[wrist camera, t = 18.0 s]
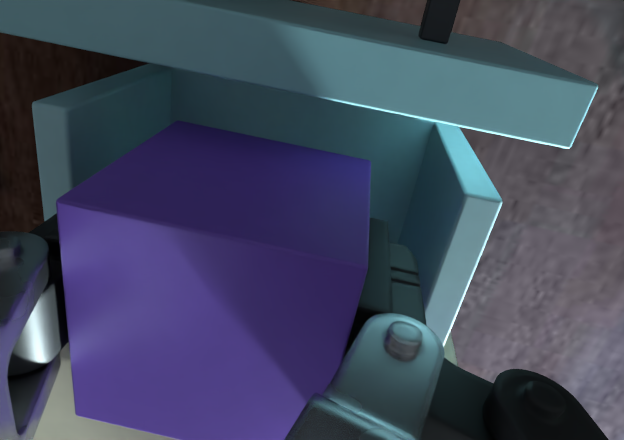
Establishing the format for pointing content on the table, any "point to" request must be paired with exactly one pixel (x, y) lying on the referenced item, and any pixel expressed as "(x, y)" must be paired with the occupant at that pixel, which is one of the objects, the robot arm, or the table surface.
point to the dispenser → (95, 434)
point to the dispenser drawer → (311, 105)
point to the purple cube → (212, 282)
